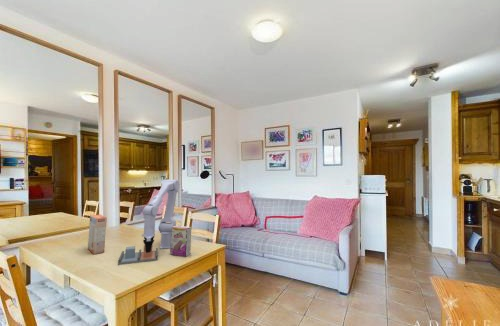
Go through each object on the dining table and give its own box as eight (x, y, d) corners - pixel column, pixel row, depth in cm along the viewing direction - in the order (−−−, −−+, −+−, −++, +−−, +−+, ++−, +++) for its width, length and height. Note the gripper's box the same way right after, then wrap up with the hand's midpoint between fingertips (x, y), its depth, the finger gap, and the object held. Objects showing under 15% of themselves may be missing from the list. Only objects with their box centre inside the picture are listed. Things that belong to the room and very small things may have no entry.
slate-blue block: (134, 255, 127) (135, 246, 127) (134, 257, 122) (134, 248, 123) (125, 256, 125) (126, 246, 125) (124, 258, 121) (125, 249, 121)
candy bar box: (169, 254, 132) (170, 226, 132) (175, 252, 136) (176, 225, 137) (185, 257, 128) (186, 228, 129) (190, 254, 133) (191, 226, 133)
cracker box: (105, 252, 132) (107, 217, 134) (92, 255, 128) (95, 218, 129) (98, 247, 142) (100, 213, 143) (87, 249, 138) (89, 215, 139)
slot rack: (157, 252, 136) (157, 247, 136) (157, 260, 123) (157, 255, 123) (121, 255, 128) (122, 251, 128) (118, 264, 115) (118, 260, 115)
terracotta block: (151, 253, 130) (152, 244, 130) (152, 256, 126) (152, 247, 126) (143, 254, 128) (143, 245, 128) (143, 257, 124) (143, 247, 124)
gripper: (142, 224, 133) (141, 247, 132) (141, 230, 120) (139, 255, 119) (155, 223, 136) (154, 246, 135) (155, 229, 123) (154, 254, 122)
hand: (148, 250), depth 127 cm, fingers open, 6 cm apart
